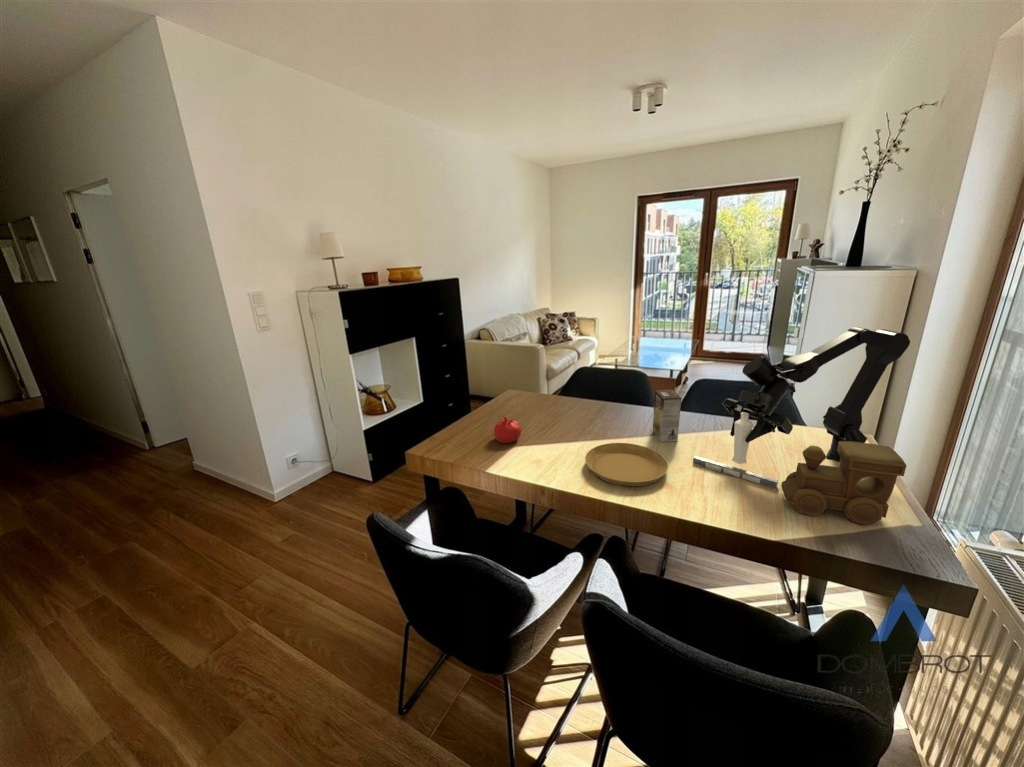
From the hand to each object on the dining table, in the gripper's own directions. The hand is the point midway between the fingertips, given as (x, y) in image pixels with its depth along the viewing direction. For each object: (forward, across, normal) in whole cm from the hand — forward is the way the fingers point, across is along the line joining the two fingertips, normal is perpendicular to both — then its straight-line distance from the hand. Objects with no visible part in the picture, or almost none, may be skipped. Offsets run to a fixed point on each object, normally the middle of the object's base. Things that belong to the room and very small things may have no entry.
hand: (738, 438), depth 116 cm
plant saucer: (+27, -15, -12) cm, 33 cm away
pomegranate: (+43, -52, -30) cm, 74 cm away
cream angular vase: (+4, 0, +6) cm, 8 cm away
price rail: (+9, +2, +5) cm, 11 cm away
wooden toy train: (+5, +24, +10) cm, 26 cm away
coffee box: (+8, -27, +6) cm, 29 cm away
